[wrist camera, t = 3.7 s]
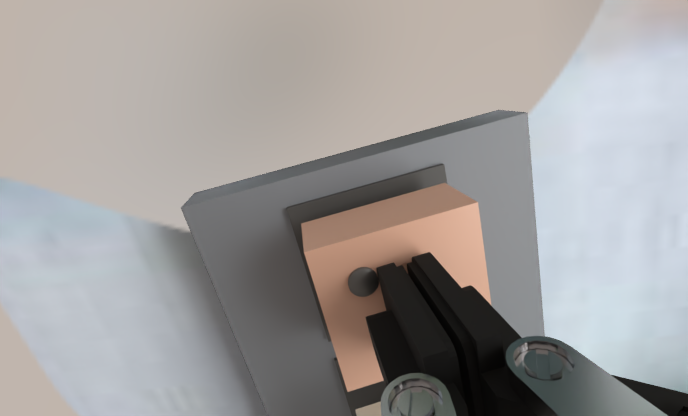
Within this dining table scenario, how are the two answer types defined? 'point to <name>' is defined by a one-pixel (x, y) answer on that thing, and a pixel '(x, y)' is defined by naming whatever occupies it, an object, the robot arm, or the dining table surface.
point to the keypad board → (341, 195)
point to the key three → (387, 262)
